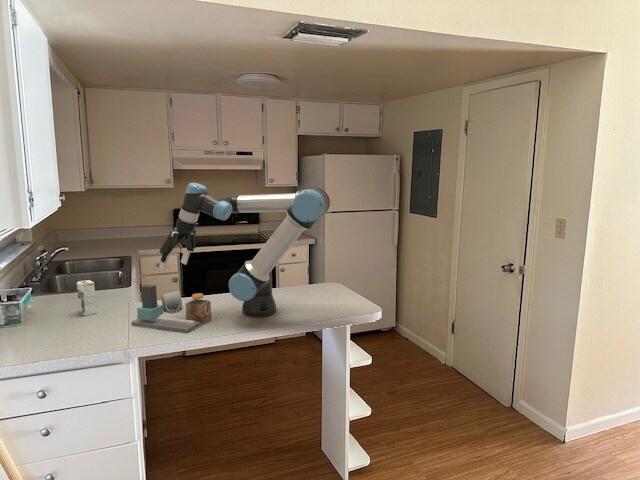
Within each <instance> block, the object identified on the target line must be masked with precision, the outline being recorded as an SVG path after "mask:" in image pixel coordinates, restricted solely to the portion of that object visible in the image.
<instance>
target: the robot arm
mask: <svg viewBox="0 0 640 480" xmlns="http://www.w3.org/2000/svg"><path fill="white" fill-rule="evenodd" d="M330 205H331V199H330V197H329V194H328V193H327V192H326V191H325V190H324V189H322V188H319V187H313V188H307V189H303V190H298V191H296V192H293V193H289V192H288V193H267V194H266V193H265V194H240V195H239V194H238V195H234V194H228V195H225V196H219V197H216V196H213V195H211V194H209V193H208V189H207V186H205V185H203V184H201V183H198V182H190V183H188V185H187V187H186V190H185V192H184V197H183V200H182V205H181V207H180V211H179V214H178V218H177V219H176V222H175V223H176V224H175V227H176V230H175V231H173V230H170V232H169V236H167V238H166V240H165V241H164V243H163V245H162V247H161V248H160V250H159V251H158V252H159V253H160V254H161V258H160V263H159V266H158V268H159V269H161V270H162V271H166V268H167V265H168V262H169V259H170V255H169V254H171V252H172V251H173V250H174V249H175V247H176V246H177V245H178V244H180V243H181V242H184V245H185V248H184V251H183V253H182V256H181V259H180V263H181V264H183V265H185V266H186V265H187V264H188V261H189V258H190V255H191V252H194V250H195V249H196V234H197V230H196V225H197V222H198V218H199V216H200V213H204V214H206V215H209V216H211V217H214V218H215V219H217V220H221V221H226V220H228V219H229V218H230V216H231V214H240V213H241V214H242V213H244V214H245V213H281V212H282V213H286V217H285V218H284V219H283V220H282V222H281V223H280V225H279V226H278V227H277V228H276V230H275V231H274V232H273V233H272V235H271V236H270V237H269V239H267V240H266V242H265V243H264V245H263V246H262V247H261V249H259V251H258V252H257V253H256V255H255V256H254V257H253V259H251V260H245V262H244V264H242V266H241V268H240V269H239V270H238V271H237V272H236V273H234V274H233V275H232V276H231V278H230V279H229V280H228V290H229V293H230V294H231V296H232V297H234V298H235V299H236V300H238V301H242V302H243V303H242V306H241V313H242V315H243V316H246V317H250V318H252V317H253V318H263V317H269V316H272V315H275V314H276V313H277V310H278V309H277V304H276V301H275V298H274V295H273V274H272V272H273V271H272V270H273V269H274V268H275V267H276V266H277V264H278V263H279V262H280V260H282V258H283V256H284V255H286V253H287V252H288V251H289V250H290V249H291V247H292V246H293V245H294V243H296V241H297V240H298V238H299V237H300V236H301V234H302V233H304V231H310V229H312V227H313V226H314V225H315V223H317V222H318V220H319V219H320V218H321V217H323V216H324V215H325V214H326V213H327V212H328V211H329V209H330V207H331V206H330Z"/></svg>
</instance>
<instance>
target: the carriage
mask: <svg viewBox="0 0 640 480" xmlns="http://www.w3.org/2000/svg"><path fill="white" fill-rule="evenodd" d="M140 293H141V305H142V306H140V307H138V308H136V311H137V315H138V318H145V319H154V318H156V317H158V316H162V315H164V309H163V305H162V304H158V296H157V285H155V284H144V285H141V286H140Z"/></svg>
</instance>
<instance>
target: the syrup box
mask: <svg viewBox="0 0 640 480" xmlns="http://www.w3.org/2000/svg"><path fill="white" fill-rule="evenodd" d="M76 290H77V303H78V304H77V305H78V312H79V314H80V315H81V316H83V317H87V316H92V315H94V314H95V315H96V314H97V313H98V311H97V300H96V289H95V282H94V281H92V280H90V279H88V280H87V279H86V280H79V281H77V282H76Z"/></svg>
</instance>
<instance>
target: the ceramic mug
mask: <svg viewBox="0 0 640 480" xmlns="http://www.w3.org/2000/svg"><path fill="white" fill-rule="evenodd" d="M161 305H163V310H165V309H166V311H167V312H168V313H170V312H174V313H177V312H179V311H178V310H180V309H182V306H183V302H182V295H181V291H180V290H176V291H171V292H167V293H164V294H161ZM173 308H175V309H173ZM176 311H177V312H176Z"/></svg>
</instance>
